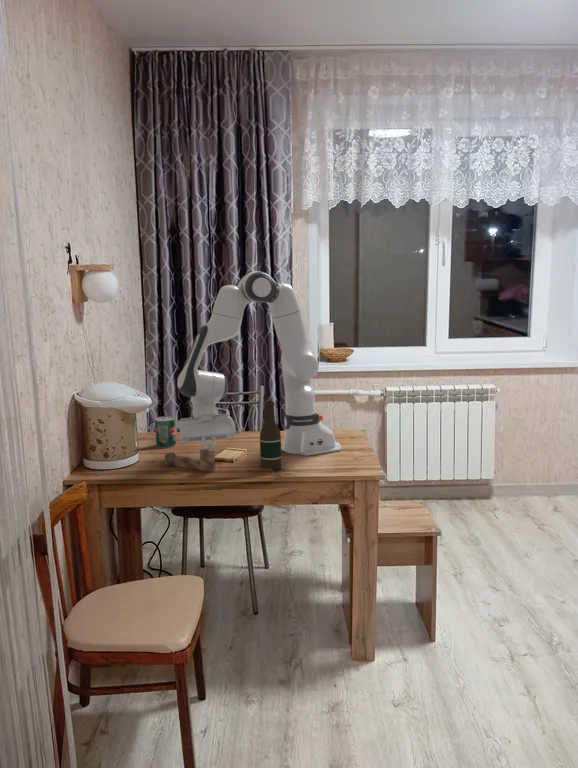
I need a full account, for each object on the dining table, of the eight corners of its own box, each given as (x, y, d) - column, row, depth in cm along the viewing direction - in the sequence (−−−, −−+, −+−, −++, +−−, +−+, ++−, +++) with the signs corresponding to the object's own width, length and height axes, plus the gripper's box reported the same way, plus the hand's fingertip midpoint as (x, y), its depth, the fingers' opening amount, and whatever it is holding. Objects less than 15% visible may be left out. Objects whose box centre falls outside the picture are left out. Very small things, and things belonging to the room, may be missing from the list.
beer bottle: (256, 467, 240) (254, 400, 236) (277, 464, 243) (275, 398, 239) (264, 473, 233) (262, 405, 229) (285, 470, 236) (284, 402, 232)
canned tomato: (178, 446, 270) (177, 419, 268) (159, 449, 267) (157, 421, 265) (172, 441, 277) (171, 415, 275) (153, 444, 274) (152, 417, 272)
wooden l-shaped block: (225, 465, 238) (224, 444, 237) (211, 472, 231) (210, 451, 229) (179, 458, 248) (177, 438, 247) (163, 465, 240) (162, 444, 239)
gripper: (177, 414, 246) (180, 447, 238) (233, 410, 251) (238, 442, 243) (176, 423, 251) (180, 456, 244) (231, 419, 256) (236, 451, 248)
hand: (209, 449), depth 243 cm, fingers closed
